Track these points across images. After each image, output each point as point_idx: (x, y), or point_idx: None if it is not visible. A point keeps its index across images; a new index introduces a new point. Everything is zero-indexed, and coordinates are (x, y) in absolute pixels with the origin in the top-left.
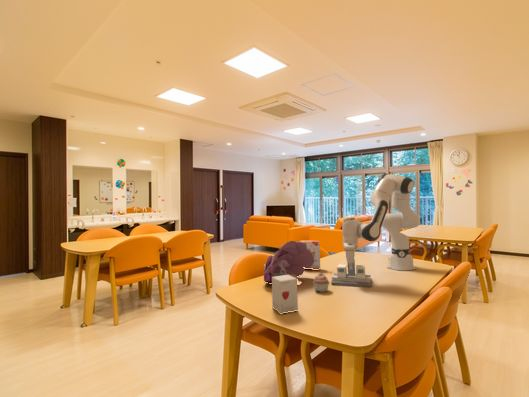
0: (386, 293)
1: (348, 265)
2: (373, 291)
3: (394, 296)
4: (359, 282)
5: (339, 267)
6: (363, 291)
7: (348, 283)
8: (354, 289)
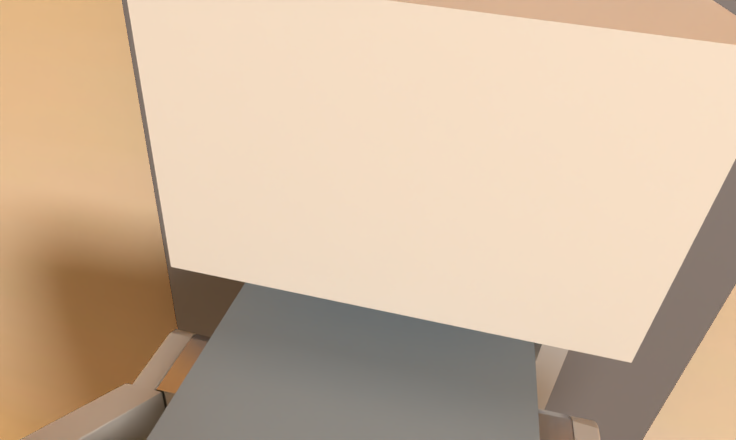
0: (63, 405)
1: (193, 387)
2: (68, 336)
3: (18, 426)
4: (241, 287)
5: (148, 78)
6: (20, 252)
7: (145, 131)
8: (42, 171)
